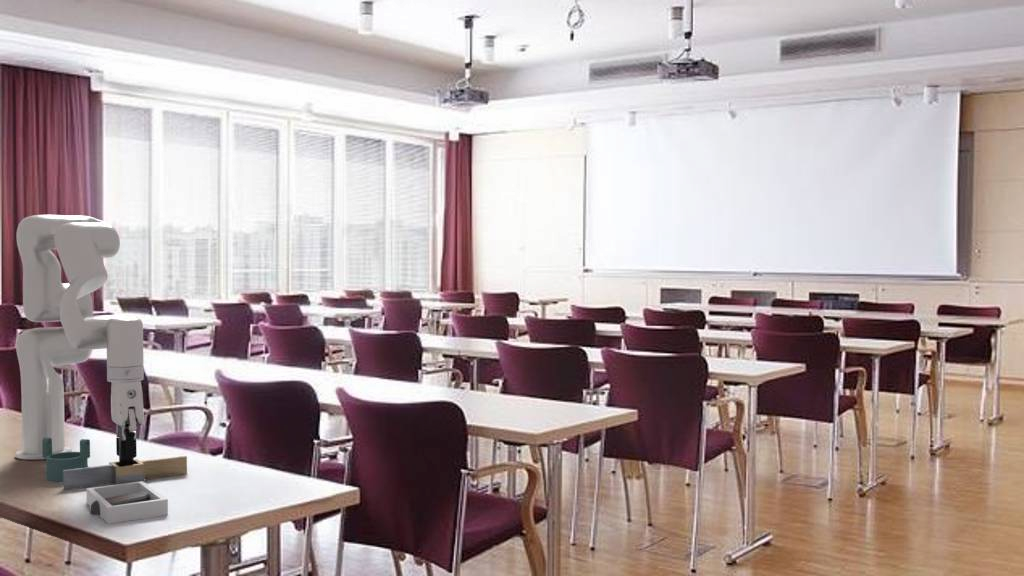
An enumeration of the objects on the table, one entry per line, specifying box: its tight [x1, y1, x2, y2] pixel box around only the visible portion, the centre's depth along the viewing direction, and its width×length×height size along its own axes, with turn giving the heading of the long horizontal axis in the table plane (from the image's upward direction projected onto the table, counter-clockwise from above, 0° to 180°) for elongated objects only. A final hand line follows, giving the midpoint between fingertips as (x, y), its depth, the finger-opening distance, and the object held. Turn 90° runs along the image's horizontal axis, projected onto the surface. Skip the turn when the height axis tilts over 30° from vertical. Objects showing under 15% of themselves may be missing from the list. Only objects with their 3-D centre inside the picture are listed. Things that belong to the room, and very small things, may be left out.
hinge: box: [62, 455, 188, 490], centre depth 220 cm, size 26×6×4 cm, turn 125°
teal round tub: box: [42, 438, 91, 483], centre depth 223 cm, size 9×9×9 cm
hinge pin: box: [118, 423, 135, 466], centre depth 219 cm, size 3×3×10 cm
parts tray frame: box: [85, 481, 169, 524], centre depth 196 cm, size 18×11×3 cm, turn 35°
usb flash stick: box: [90, 491, 150, 517], centre depth 196 cm, size 5×12×3 cm, turn 146°
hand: (126, 455), depth 219 cm, fingers closed on hinge pin, 3 cm apart
